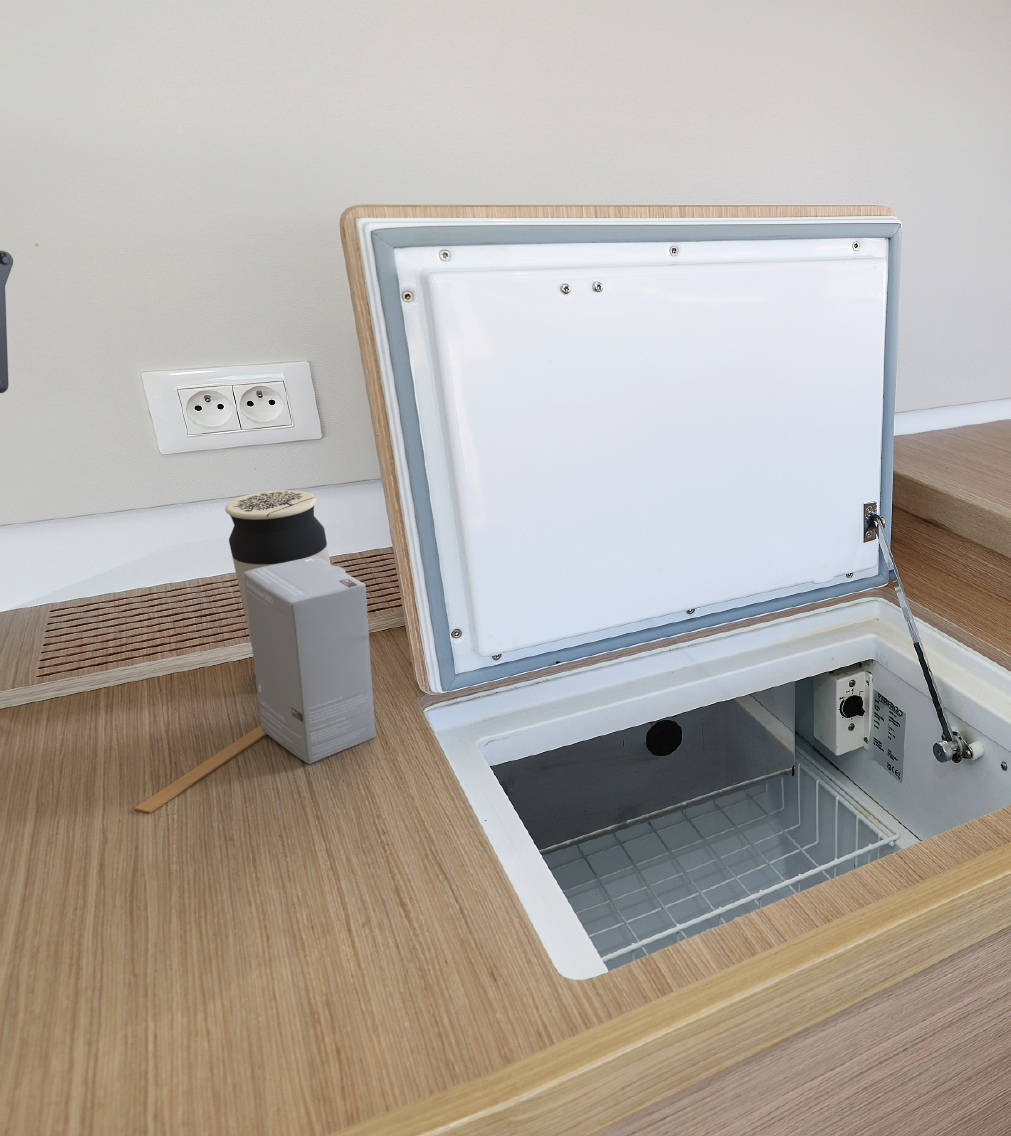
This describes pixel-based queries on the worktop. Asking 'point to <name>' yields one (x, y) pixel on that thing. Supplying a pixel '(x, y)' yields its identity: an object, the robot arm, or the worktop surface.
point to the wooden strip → (200, 771)
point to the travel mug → (273, 532)
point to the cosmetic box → (311, 656)
